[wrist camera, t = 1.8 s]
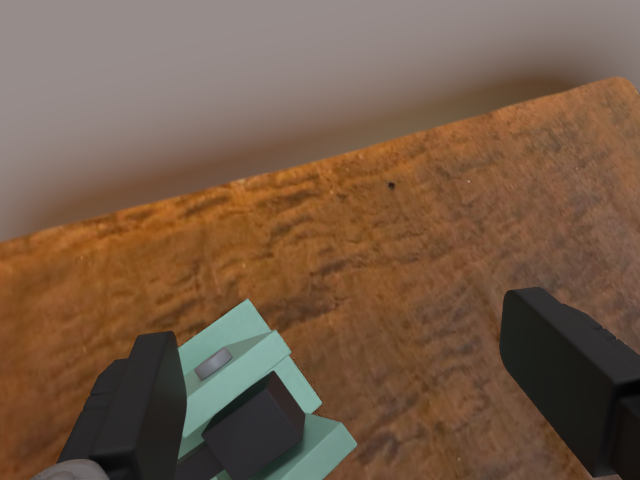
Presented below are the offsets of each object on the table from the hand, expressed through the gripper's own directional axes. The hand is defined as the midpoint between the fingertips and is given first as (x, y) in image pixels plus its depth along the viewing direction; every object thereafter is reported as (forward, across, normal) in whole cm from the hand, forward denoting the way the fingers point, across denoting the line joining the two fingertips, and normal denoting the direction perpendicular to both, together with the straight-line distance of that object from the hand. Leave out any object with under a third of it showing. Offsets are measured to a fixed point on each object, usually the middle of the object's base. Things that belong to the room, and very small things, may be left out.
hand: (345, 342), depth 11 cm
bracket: (+14, +6, +13) cm, 20 cm away
